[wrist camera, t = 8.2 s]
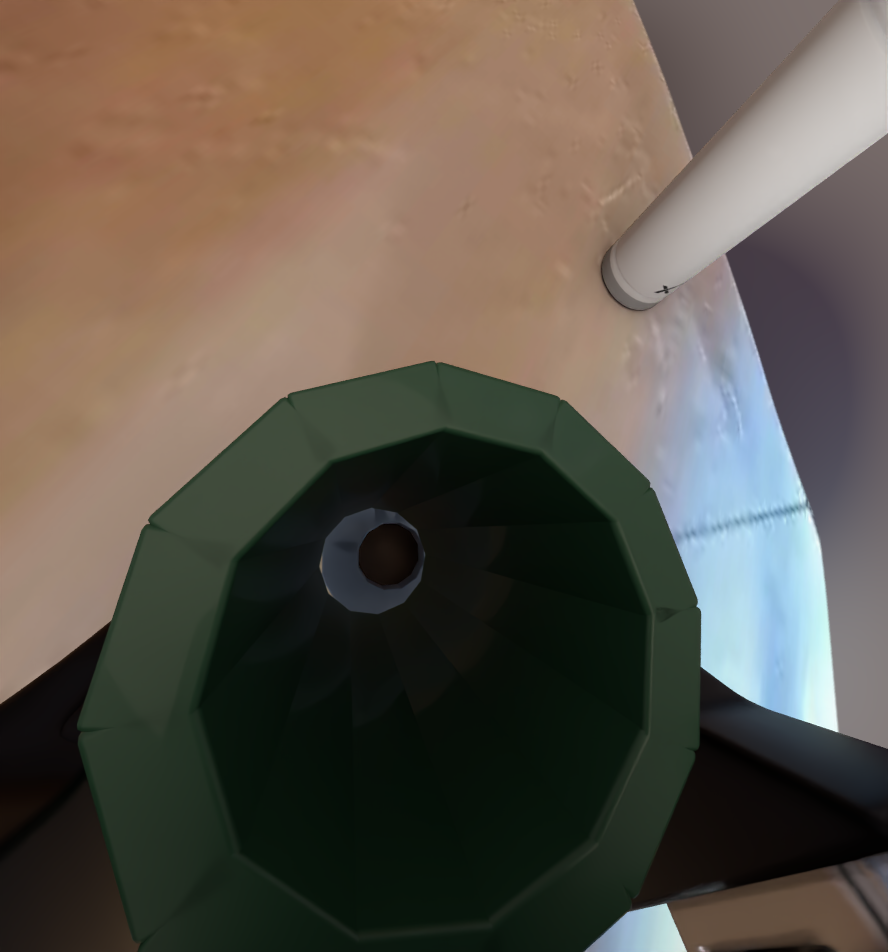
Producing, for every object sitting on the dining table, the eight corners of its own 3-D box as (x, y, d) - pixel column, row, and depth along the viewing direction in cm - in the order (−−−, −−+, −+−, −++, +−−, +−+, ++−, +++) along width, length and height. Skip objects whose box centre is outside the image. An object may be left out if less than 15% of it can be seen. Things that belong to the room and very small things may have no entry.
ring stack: (475, 570, 23) (496, 577, 20) (360, 655, 20) (362, 679, 17) (407, 459, 23) (417, 447, 20) (283, 530, 20) (270, 530, 17)
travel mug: (651, 327, 30) (1162, -18, 11) (590, 284, 29) (1042, -175, 10) (670, 275, 32) (1145, -104, 13) (613, 233, 31) (1039, -248, 12)
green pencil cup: (458, 597, 16) (775, 784, 4) (327, 657, 14) (223, 1289, 2) (414, 474, 16) (591, 323, 4) (281, 518, 15) (-11, 459, 3)
